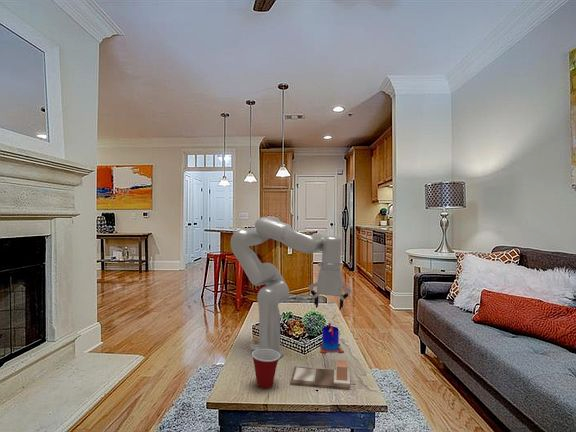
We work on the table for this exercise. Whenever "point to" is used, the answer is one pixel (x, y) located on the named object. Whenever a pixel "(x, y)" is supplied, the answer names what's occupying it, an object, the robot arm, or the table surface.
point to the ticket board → (315, 378)
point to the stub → (341, 373)
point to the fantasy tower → (330, 340)
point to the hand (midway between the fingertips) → (328, 307)
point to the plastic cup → (265, 366)
